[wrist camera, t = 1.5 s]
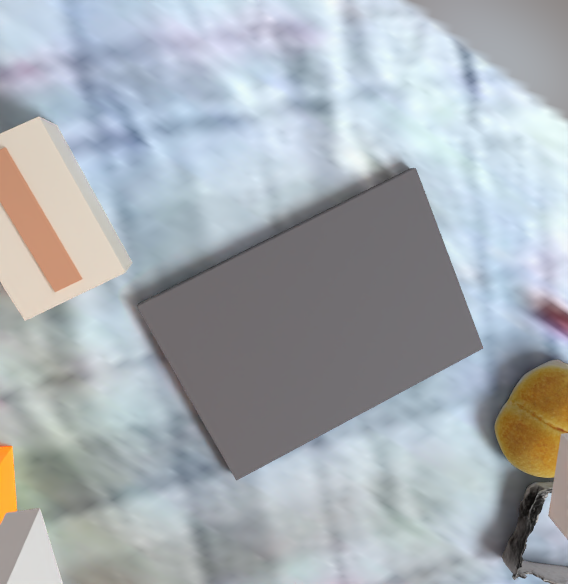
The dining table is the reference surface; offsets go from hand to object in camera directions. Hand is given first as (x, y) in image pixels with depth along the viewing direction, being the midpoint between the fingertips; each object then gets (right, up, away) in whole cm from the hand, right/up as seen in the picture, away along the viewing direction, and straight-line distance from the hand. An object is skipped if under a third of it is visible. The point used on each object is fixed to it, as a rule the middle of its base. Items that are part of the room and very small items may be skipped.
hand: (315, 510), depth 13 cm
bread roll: (+20, -4, +27) cm, 34 cm away
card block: (-15, +10, +18) cm, 25 cm away
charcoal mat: (+2, +3, +22) cm, 22 cm away
